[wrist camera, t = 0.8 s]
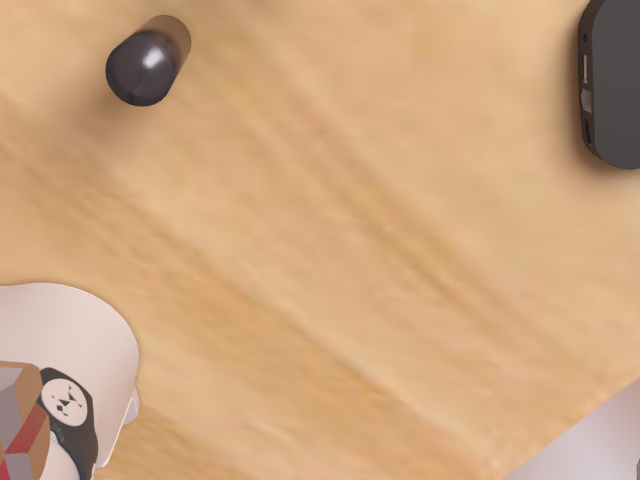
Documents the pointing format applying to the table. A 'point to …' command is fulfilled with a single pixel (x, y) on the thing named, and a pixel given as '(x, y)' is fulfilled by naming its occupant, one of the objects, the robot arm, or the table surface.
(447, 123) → the table surface
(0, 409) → the robot arm
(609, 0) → the media streaming box
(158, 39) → the round bit
